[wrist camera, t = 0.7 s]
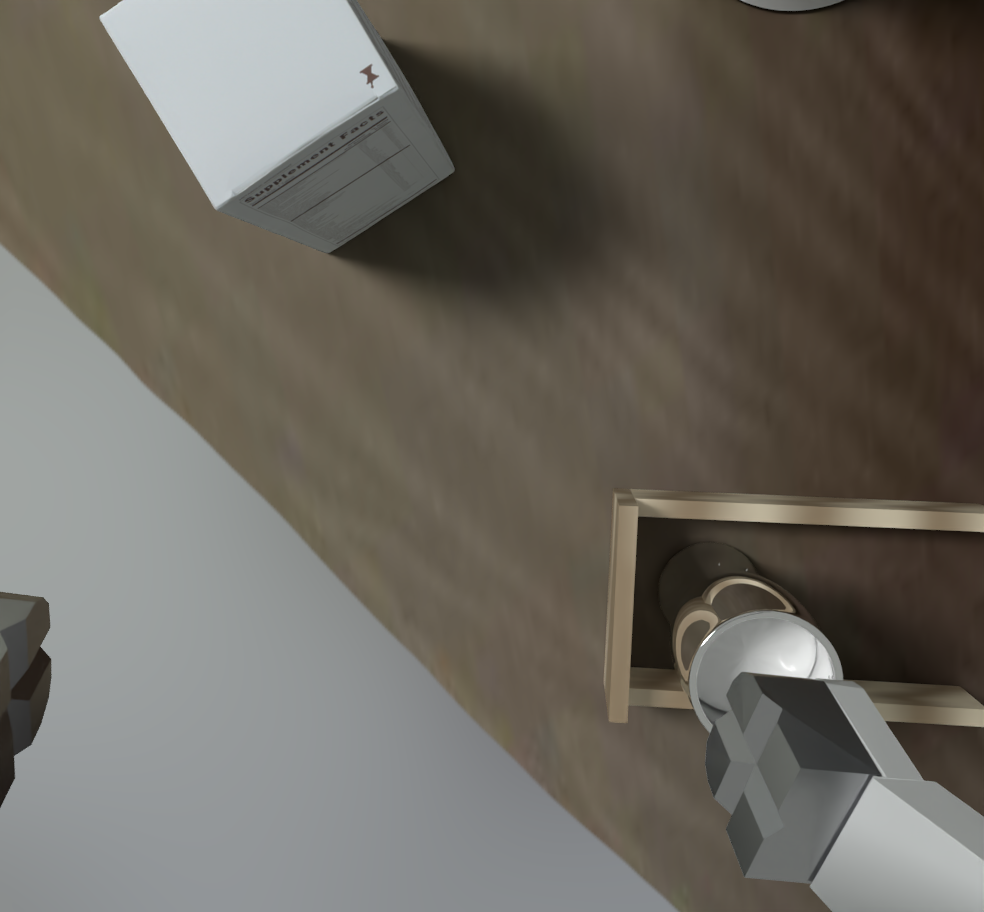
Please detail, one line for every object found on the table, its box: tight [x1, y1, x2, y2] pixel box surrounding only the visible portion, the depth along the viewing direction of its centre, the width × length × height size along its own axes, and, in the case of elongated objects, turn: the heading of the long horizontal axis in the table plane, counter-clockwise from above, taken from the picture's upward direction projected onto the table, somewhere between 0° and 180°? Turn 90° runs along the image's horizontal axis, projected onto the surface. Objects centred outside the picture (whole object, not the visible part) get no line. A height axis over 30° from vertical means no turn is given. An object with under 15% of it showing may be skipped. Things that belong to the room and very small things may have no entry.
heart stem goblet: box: [658, 542, 843, 733], centre depth 45 cm, size 7×7×15 cm
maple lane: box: [604, 488, 984, 727], centre depth 49 cm, size 21×12×6 cm, turn 88°
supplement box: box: [99, 0, 455, 253], centre depth 43 cm, size 10×9×17 cm
